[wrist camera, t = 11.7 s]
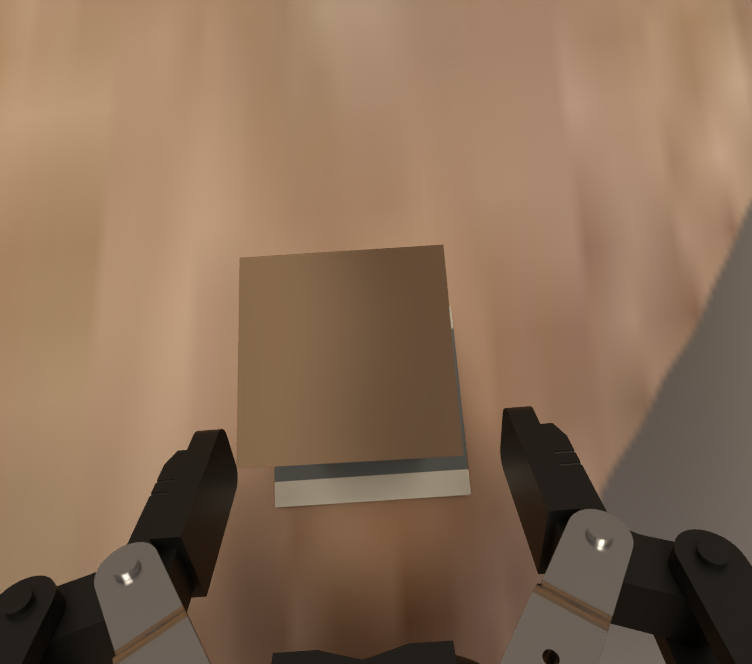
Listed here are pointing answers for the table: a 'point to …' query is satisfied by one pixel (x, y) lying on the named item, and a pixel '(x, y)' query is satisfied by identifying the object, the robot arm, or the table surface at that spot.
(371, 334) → the block
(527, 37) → the table surface
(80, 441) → the table surface
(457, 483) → the mat
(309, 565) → the table surface
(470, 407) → the table surface
